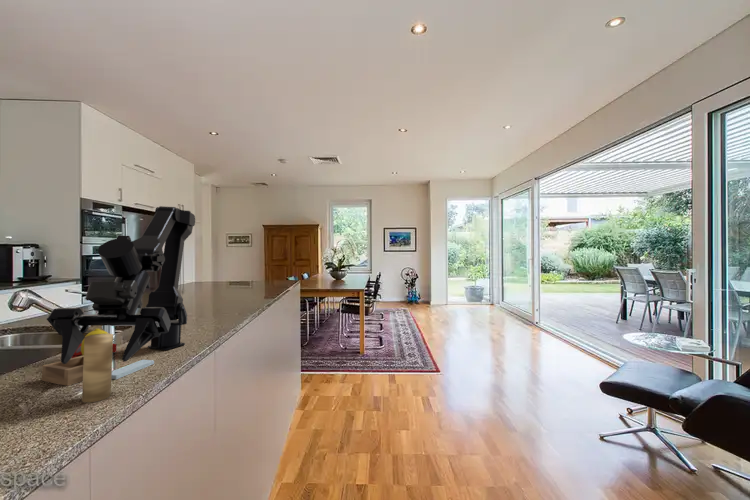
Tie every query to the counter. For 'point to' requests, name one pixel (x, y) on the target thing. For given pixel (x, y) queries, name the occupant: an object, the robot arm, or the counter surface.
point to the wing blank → (131, 368)
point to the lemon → (96, 331)
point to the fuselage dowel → (97, 367)
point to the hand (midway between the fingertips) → (94, 361)
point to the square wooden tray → (64, 372)
